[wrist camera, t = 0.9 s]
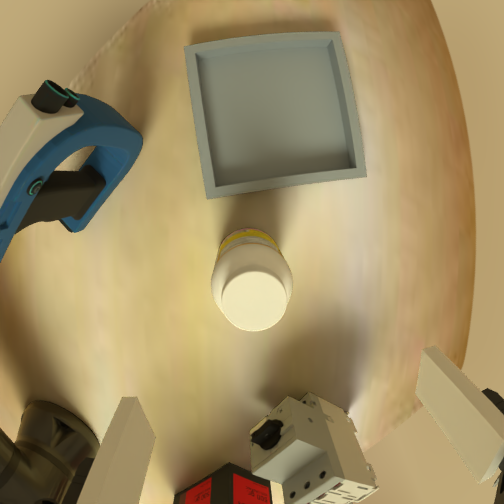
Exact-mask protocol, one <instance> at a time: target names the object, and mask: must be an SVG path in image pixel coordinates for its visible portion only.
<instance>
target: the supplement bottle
mask: <svg viewBox="0 0 504 504" xmlns="http://www.w3.org/2000/svg"><path fill="white" fill-rule="evenodd" d="M292 289H293V278H292V274H291V270H290V268H289V266H288V264H287V262H286V260H285V259H284V257H283V255H282V254H281V252H280V250H279V248H278V246H277V245H276V243H275V242H274V240H273V239H272V238H271V237H270V236H269V235H268V234H266V233H265V232H263V231H261V230H258V229H253V228H244V229H239V230H237V231H235V232H233V233H231V234H230V235H228V236H227V237H226V238H225V239H224V241H223V242H222V244H221V245H220V248H219V251H218V254H217V258H216V262H215V267H214V270H213V274H212V279H211V291H212V295H213V298H214V300H215V302H216V304H217V306H218V307H219V308H220V310H221V311H222V312H223V313H224V315H225V316H226V318H227V319H228V320H229V321H230V322H231V323H232V324H233V325H234V326H236V327H238V328H240V329H242V330H246V331H261V330H265V329H268V328H270V327H272V326H273V325H275V324H276V323H277V322H278V321H279V320H280V319H281V318H282V316H283V315H284V313H285V310H286V307H287V303H288V301H289V299H290V297H291V294H292Z"/></svg>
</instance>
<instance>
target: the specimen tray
mask: <svg viewBox="0 0 504 504" xmlns="http://www.w3.org/2000/svg"><path fill="white" fill-rule="evenodd" d="M184 51H185V59H186V67H187V74H188V81H189V88H190V96H191V103H192V109H193V116H194V123H195V129H196V136H197V142H198V149H199V155H200V161H201V167H202V173H203V179H204V185H205V191H206V197H207V199H213V198H218V197H224V196H230V195H236V194H243V193H249V192H255V191H262V190H268V189H275V188H282V187H289V186H296V185H304V184H312V183H319V182H327V181H336V180H344V179H353V178H362V177H367V173H366V166H365V158H364V151H363V144H362V138H361V131H360V125H359V119H358V114H357V108H356V103H355V98H354V92H353V88H352V83H351V78H350V73H349V69H348V64H347V60H346V56H345V52H344V48H343V44H342V40H341V36H340V32H291V33H275V34H263V35H253V36H245V37H237V38H229V39H223V40H216V41H210V42H205V43H199V44H194V45H189V46H184Z"/></svg>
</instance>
